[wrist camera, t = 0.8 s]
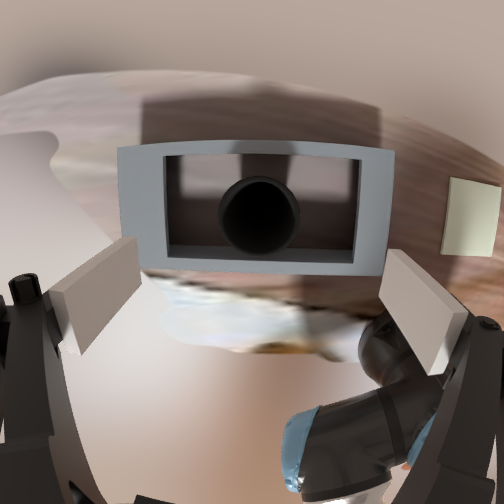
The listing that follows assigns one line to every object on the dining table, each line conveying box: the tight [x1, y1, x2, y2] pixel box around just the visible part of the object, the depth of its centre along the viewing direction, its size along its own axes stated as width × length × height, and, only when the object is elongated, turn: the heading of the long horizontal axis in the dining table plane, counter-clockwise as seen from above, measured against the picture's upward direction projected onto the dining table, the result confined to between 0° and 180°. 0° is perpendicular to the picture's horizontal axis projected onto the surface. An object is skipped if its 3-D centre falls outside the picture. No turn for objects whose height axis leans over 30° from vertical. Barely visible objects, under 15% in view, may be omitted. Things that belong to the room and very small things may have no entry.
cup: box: [218, 176, 300, 257], centre depth 33 cm, size 8×8×12 cm
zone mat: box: [440, 177, 502, 257], centre depth 36 cm, size 12×12×1 cm
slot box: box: [117, 140, 395, 276], centre depth 35 cm, size 15×32×7 cm, turn 89°
